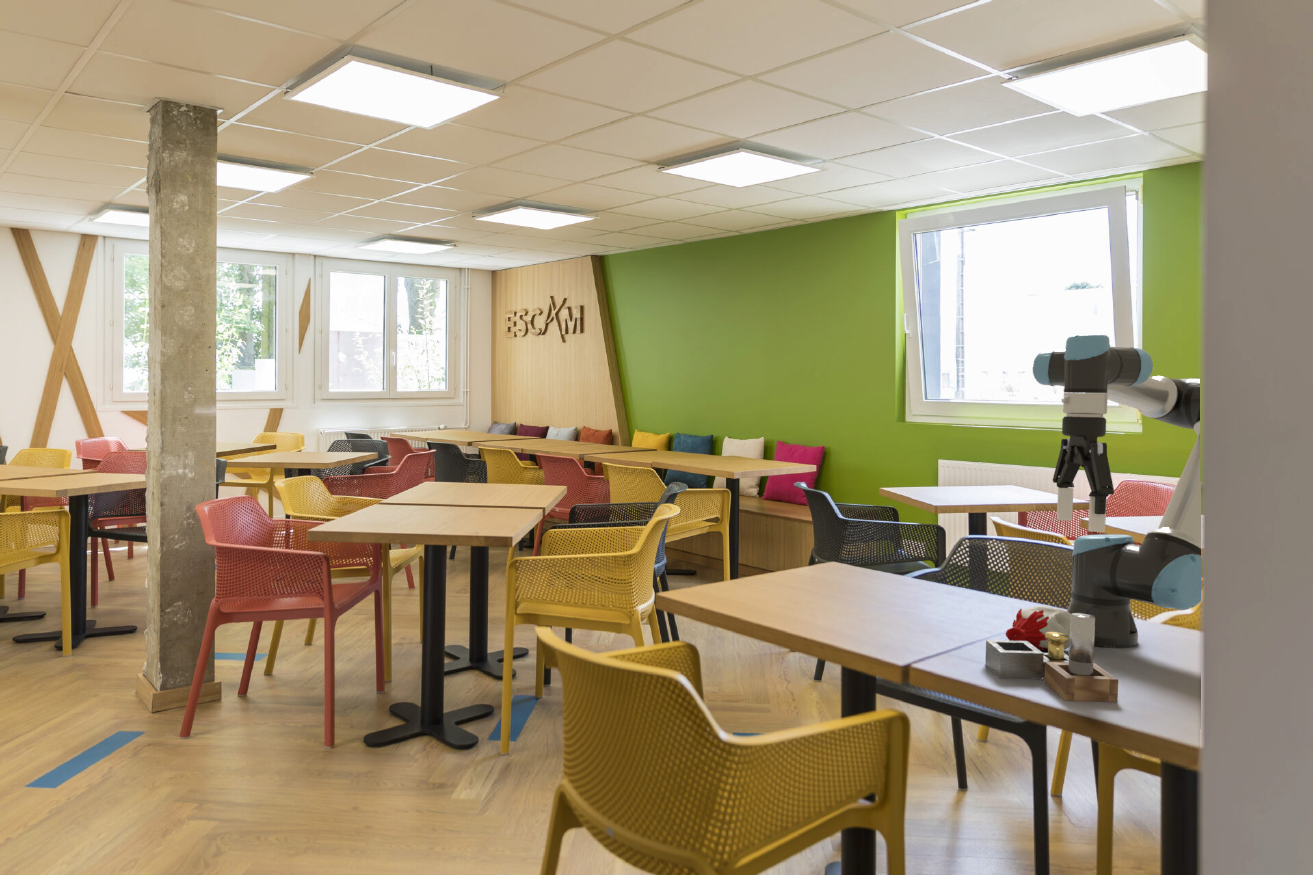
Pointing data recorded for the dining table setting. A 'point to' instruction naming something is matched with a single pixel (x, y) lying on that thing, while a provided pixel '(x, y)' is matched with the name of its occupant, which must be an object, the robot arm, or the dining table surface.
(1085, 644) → the silver metal cylinder
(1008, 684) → the dining table surface
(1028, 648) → the socket
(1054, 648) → the gold bolt
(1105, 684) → the wooden box
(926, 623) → the dining table surface
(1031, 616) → the white and red lump
